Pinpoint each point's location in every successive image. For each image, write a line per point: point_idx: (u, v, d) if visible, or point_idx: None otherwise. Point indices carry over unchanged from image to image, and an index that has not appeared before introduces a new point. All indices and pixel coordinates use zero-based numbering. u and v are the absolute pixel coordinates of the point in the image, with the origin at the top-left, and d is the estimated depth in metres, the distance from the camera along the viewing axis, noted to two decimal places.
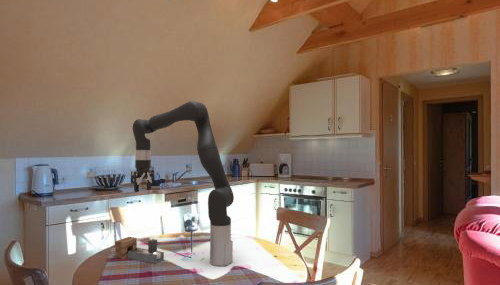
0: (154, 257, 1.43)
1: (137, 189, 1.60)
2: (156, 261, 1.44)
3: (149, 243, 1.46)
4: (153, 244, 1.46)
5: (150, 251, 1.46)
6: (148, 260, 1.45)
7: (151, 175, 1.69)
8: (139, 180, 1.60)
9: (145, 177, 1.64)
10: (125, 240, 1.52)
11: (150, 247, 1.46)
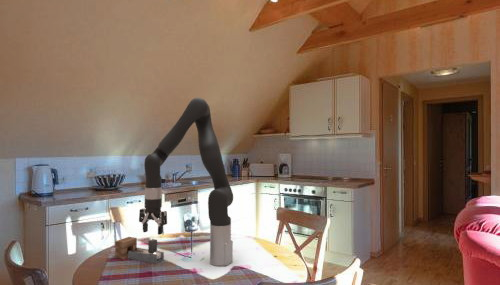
0: (154, 257, 1.43)
1: None
2: (156, 261, 1.44)
3: (149, 243, 1.46)
4: (153, 244, 1.46)
5: (150, 251, 1.46)
6: (148, 260, 1.45)
7: (143, 215, 1.51)
8: (161, 220, 1.47)
9: None
10: (125, 240, 1.52)
11: (150, 247, 1.46)
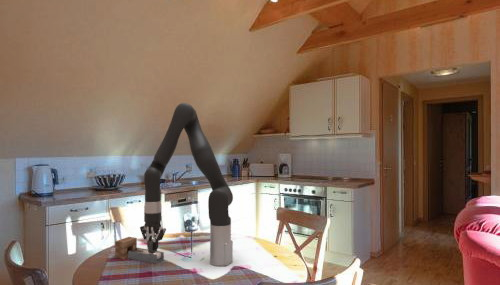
0: (154, 257, 1.43)
1: None
2: (156, 261, 1.44)
3: (149, 243, 1.46)
4: None
5: (150, 251, 1.46)
6: (148, 260, 1.45)
7: (146, 231, 1.50)
8: (157, 235, 1.48)
9: None
10: (125, 240, 1.52)
11: (150, 247, 1.46)
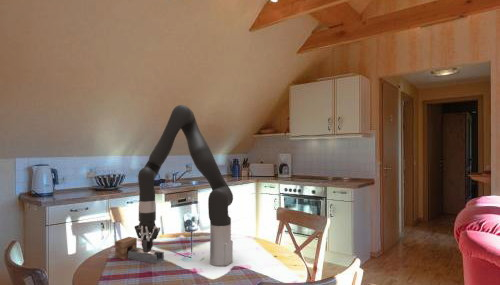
0: (154, 257, 1.43)
1: None
2: (156, 261, 1.44)
3: (143, 242, 1.48)
4: (147, 243, 1.47)
5: (144, 250, 1.47)
6: (148, 260, 1.45)
7: (140, 230, 1.51)
8: (152, 234, 1.49)
9: None
10: (125, 240, 1.52)
11: (144, 246, 1.47)
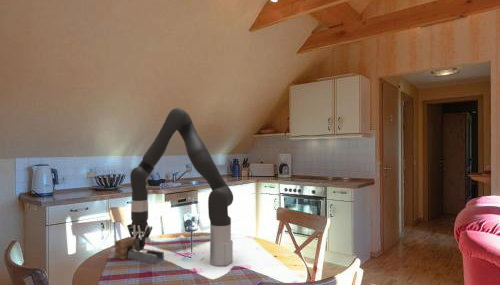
0: (154, 257, 1.43)
1: None
2: (156, 261, 1.44)
3: (136, 241, 1.49)
4: None
5: (137, 249, 1.49)
6: (148, 260, 1.45)
7: (133, 229, 1.53)
8: (144, 233, 1.51)
9: None
10: (125, 240, 1.52)
11: (137, 245, 1.49)
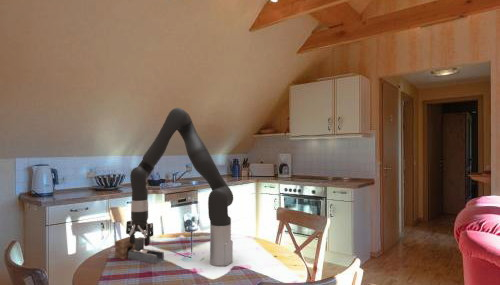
0: (154, 257, 1.43)
1: None
2: (156, 261, 1.44)
3: (136, 241, 1.49)
4: (140, 242, 1.49)
5: (137, 249, 1.49)
6: (148, 260, 1.45)
7: (130, 226, 1.53)
8: (147, 232, 1.50)
9: None
10: (125, 240, 1.52)
11: (137, 245, 1.49)
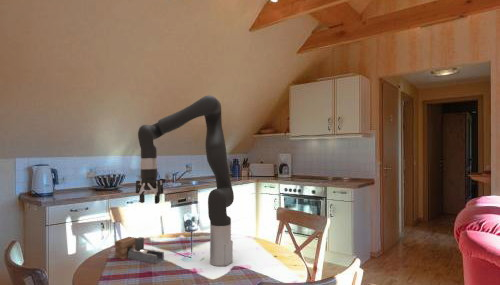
0: (154, 257, 1.43)
1: None
2: (156, 261, 1.44)
3: (136, 241, 1.49)
4: (140, 242, 1.49)
5: (137, 249, 1.49)
6: (148, 260, 1.45)
7: (140, 186, 1.53)
8: (157, 190, 1.50)
9: None
10: (125, 240, 1.52)
11: (137, 245, 1.49)
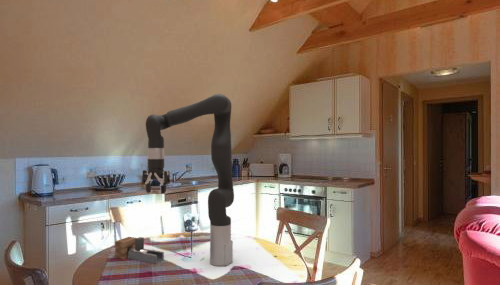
0: (154, 257, 1.43)
1: None
2: (156, 261, 1.44)
3: (136, 241, 1.49)
4: (140, 242, 1.49)
5: (137, 249, 1.49)
6: (148, 260, 1.45)
7: (146, 176, 1.54)
8: (164, 180, 1.50)
9: None
10: (125, 240, 1.52)
11: (137, 245, 1.49)
